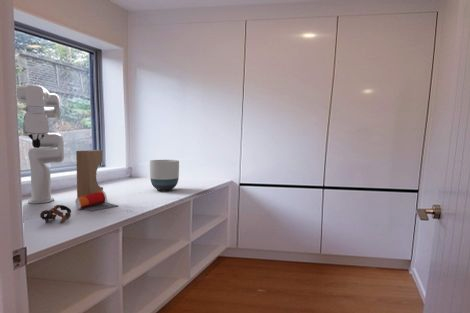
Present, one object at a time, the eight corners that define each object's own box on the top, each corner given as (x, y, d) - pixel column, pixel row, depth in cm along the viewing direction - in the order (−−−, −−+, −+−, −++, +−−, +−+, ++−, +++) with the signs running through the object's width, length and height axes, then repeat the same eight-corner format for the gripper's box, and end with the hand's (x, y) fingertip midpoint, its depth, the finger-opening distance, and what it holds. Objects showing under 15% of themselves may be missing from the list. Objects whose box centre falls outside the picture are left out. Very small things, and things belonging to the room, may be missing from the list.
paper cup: (74, 206, 158) (99, 199, 169) (81, 213, 155) (106, 205, 166) (74, 193, 156) (100, 187, 166) (82, 200, 152) (108, 193, 163)
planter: (151, 188, 224) (151, 159, 222) (179, 187, 227) (179, 159, 226) (148, 193, 204) (148, 161, 202) (179, 192, 207) (179, 161, 206)
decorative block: (89, 204, 167) (88, 151, 165) (76, 204, 167) (75, 150, 165) (103, 199, 182) (102, 150, 180) (91, 199, 182) (90, 149, 180)
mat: (78, 207, 160) (78, 206, 160) (105, 202, 172) (105, 201, 172) (91, 211, 152) (91, 210, 152) (118, 206, 163) (118, 205, 163)
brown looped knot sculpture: (59, 218, 140) (67, 203, 139) (68, 230, 135) (77, 215, 135) (32, 217, 130) (41, 201, 129) (41, 230, 125) (50, 214, 124)
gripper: (20, 109, 139) (21, 148, 140) (55, 111, 151) (55, 147, 152) (14, 109, 144) (16, 147, 145) (49, 112, 156) (50, 147, 157)
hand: (36, 147), depth 149 cm, fingers closed
